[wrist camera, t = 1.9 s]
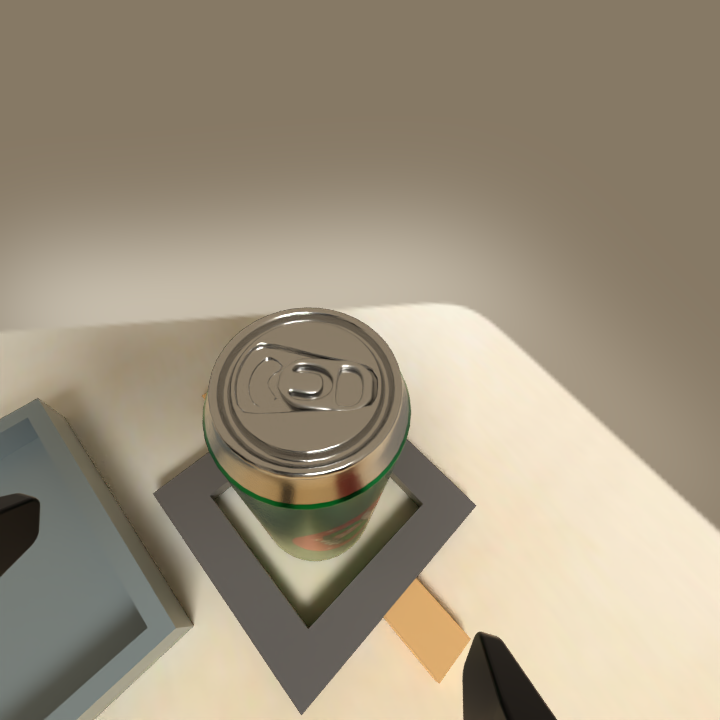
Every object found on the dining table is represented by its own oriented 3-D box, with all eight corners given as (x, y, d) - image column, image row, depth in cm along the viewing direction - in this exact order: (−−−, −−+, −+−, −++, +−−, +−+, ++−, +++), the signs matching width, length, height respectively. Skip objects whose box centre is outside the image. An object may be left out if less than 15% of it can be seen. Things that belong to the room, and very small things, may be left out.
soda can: (275, 449, 20) (222, 286, 10) (372, 457, 20) (418, 305, 10) (254, 558, 17) (153, 485, 7) (367, 566, 17) (422, 507, 7)
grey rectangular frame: (357, 792, 14) (359, 801, 13) (128, 452, 19) (121, 446, 19) (522, 558, 18) (529, 556, 17) (295, 339, 24) (295, 331, 23)
